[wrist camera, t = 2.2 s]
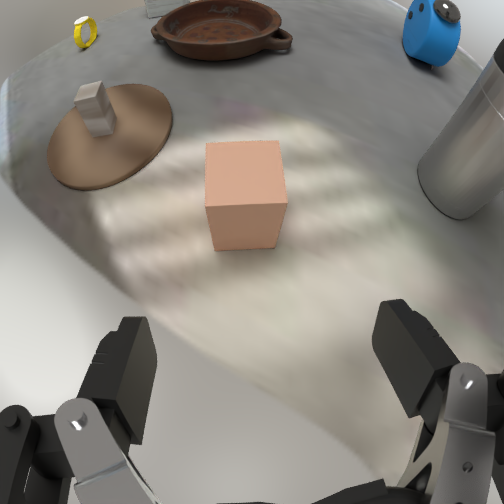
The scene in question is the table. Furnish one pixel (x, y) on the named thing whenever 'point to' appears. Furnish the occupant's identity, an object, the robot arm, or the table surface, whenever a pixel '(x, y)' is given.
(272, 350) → the table surface
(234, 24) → the dish
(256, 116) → the table surface
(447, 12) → the alarm clock
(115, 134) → the post stand
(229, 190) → the salmon pink block
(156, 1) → the supplement box
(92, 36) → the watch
